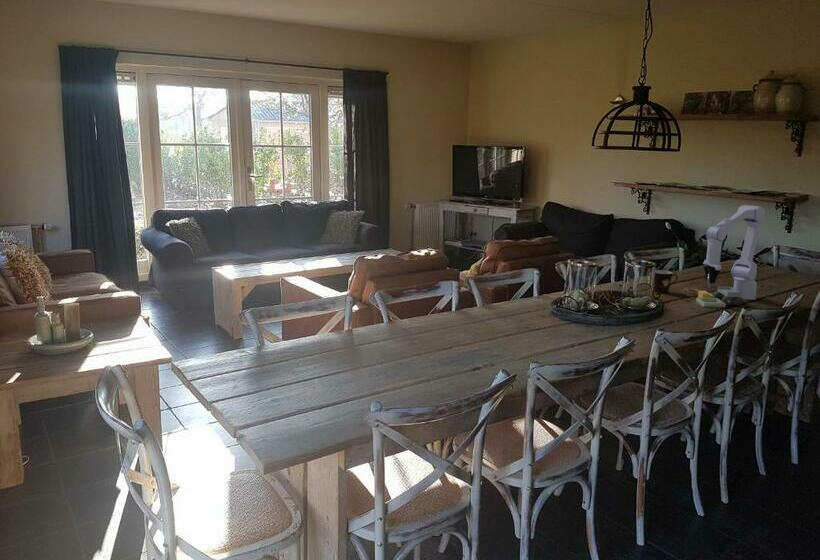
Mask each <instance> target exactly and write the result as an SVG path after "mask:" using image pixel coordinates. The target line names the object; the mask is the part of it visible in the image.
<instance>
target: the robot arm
mask: <svg viewBox="0 0 820 560" xmlns="http://www.w3.org/2000/svg"><path fill="white" fill-rule="evenodd" d="M737 209H738V210H737V212H736V213H734V214H733V215H731V217H730V218H723V219H722V220H721V221H720V222H719V223H717V224H716V225H715V226H710V227H708V228H707V231H706V232H705V236H706V242H707V249H706V258H705V259H704V261H703V263H702V264H703V265H704V266H702V267H703V268H702V269H703V271H704V274H705V281H706V282H707V279H708V276H707V274H708V273H709V283H710V284H712V285H714V284H715V283H716V281H717V279H718V276H719V274H720V273H721V272H722V265H721V255H722V254H721V253H722V247H723V241H724V240H725V238H726V236H727V234H728V233H730V232H731V231H732V230H734V229H735V226H736V225H737V224H738V223H740V222H741V221H743V222H744V223H745V224H746V225H747V230H746V234H745V239H744V242H743V246H742V251H741V255H740V258H739V259H736V260H735V261H734V263H733V266H732V268H731V270H730V273H731V276H732V278H733V279H734V280H733V281H734V282H733V287H732V288H734V289H736V290H738V291H740V292H741V298H743V300H747V301H749V300H750V301H752V300H753V301H754V300H757V296H756V295H757V289H758V284H757V282H756V280H755V279H756V277H757V275H758V274H757V273H758V271H757V269H758V264H756V262H755V261H754V260H753V259H754V255H755V252H756V249H757V243H758V239H759V235H760V231H761V228H762V226H763V224H764V222H765V221H764V220H765V216H766V210H765V208H764V207H763V206H756V205H749V204H741V206H739V207H738V208H737Z"/></svg>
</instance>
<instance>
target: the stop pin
mask: <svg viewBox="0 0 820 560" xmlns="http://www.w3.org/2000/svg"><path fill="white" fill-rule="evenodd" d="M707 276H708V279H707V281H706V285H705V289H706V290H710V291H711V290H712V289H713V284H710V283H709V273H708V274H707Z"/></svg>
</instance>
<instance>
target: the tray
mask: <svg viewBox="0 0 820 560" xmlns="http://www.w3.org/2000/svg"><path fill="white" fill-rule="evenodd" d="M695 302H696V304H699V306H701V307H702V308H718V309H719V308H722V309H724V308H726V306H727V305H726V303H724V302H723V301H722V300H719V299H718V298H714V297H713V298H698V297H696V298H695Z"/></svg>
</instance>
